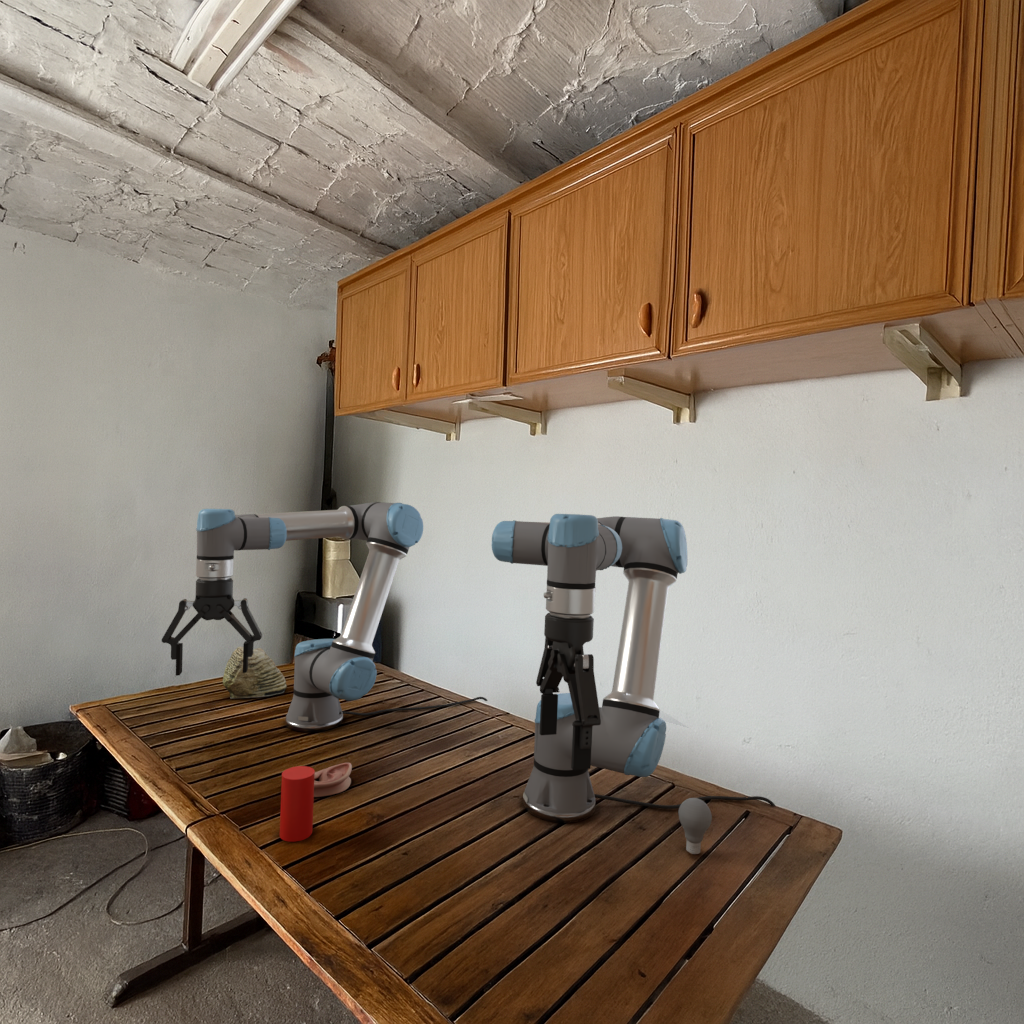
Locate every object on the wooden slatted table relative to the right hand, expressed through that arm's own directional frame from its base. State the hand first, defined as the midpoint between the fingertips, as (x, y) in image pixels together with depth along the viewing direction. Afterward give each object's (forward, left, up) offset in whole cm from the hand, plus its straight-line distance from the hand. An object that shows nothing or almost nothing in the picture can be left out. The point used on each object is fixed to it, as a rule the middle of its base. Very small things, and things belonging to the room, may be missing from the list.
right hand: (563, 750), depth 98 cm
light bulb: (-32, -11, -26) cm, 42 cm away
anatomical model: (+35, -52, -26) cm, 68 cm away
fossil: (+54, -121, -26) cm, 135 cm away
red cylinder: (+39, -34, -26) cm, 58 cm away
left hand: (+59, -64, -3) cm, 87 cm away
